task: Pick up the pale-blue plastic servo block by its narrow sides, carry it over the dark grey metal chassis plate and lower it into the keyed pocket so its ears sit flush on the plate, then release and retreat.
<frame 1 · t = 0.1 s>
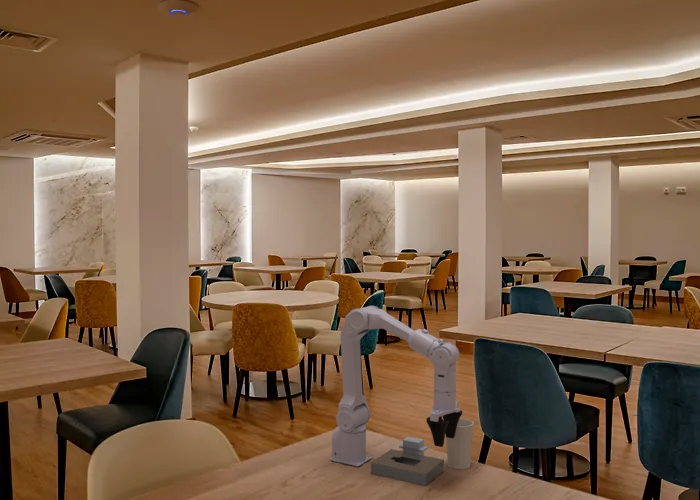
hand: (444, 441, 164), 10 cm above the table, fingers open, 7 cm apart
servo: (413, 458, 179), on the table
cup: (458, 465, 174), on the table
chassis: (407, 472, 169), on the table
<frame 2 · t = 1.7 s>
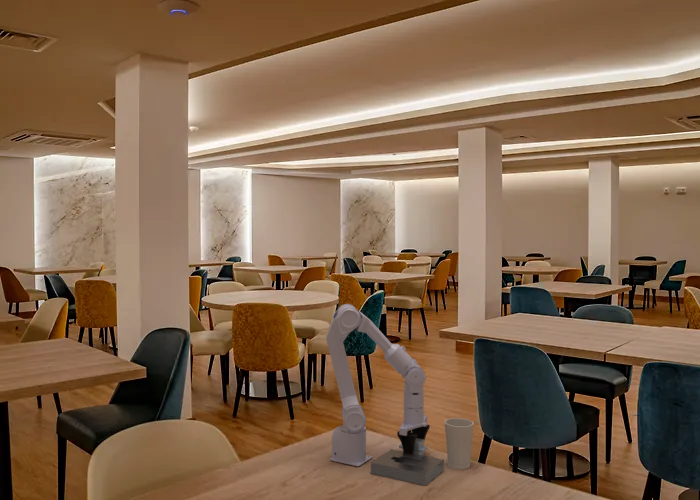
hand: (413, 453, 179), 1 cm above the table, fingers open, 6 cm apart
nothing on the table moved.
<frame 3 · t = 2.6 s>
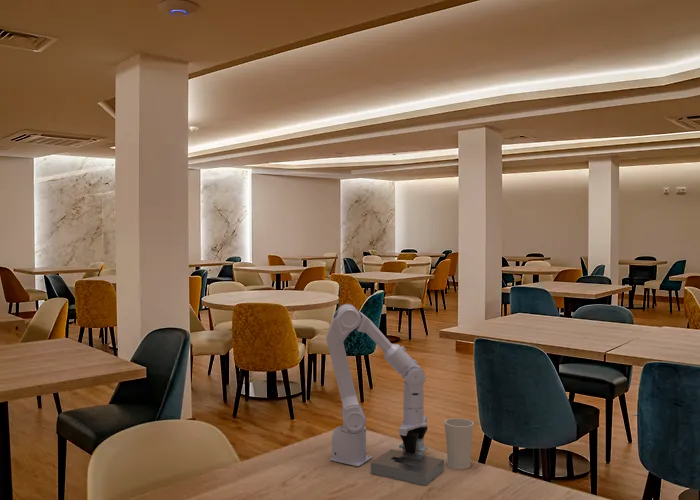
hand: (413, 453, 179), 1 cm above the table, fingers closed on servo, 3 cm apart
servo: (413, 458, 179), on the table, touching gripper
everything else where it was.
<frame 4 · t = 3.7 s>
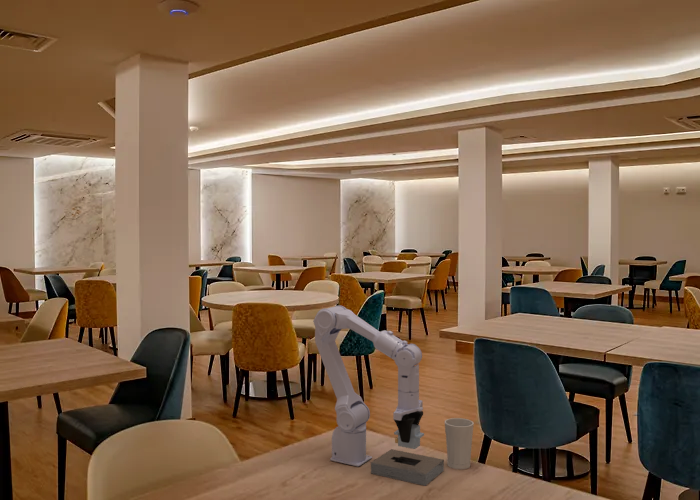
hand: (408, 439, 170), 8 cm above the table, fingers closed on servo, 3 cm apart
servo: (409, 445, 170), point 7 cm above the table, touching gripper
everything else where it was.
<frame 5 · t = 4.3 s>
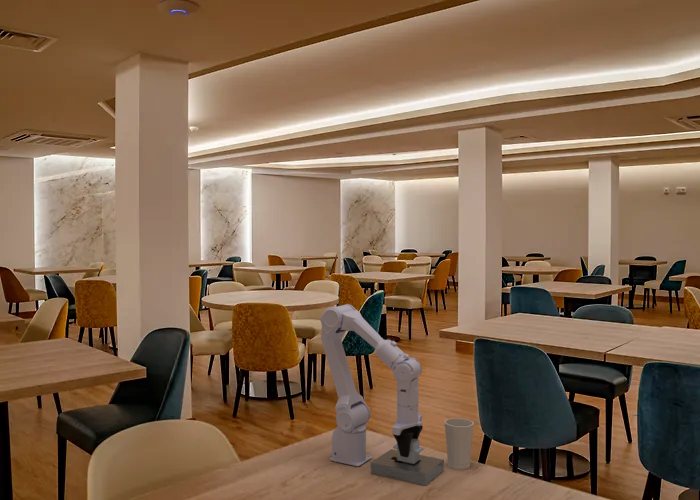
hand: (407, 454, 169), 5 cm above the table, fingers closed on servo, 3 cm apart
servo: (408, 460, 169), point 3 cm above the table, touching gripper
everything else where it was.
when the fingers open (3 cm above the table, at t = 4.9 s): servo drops 2 cm, resting on chassis.
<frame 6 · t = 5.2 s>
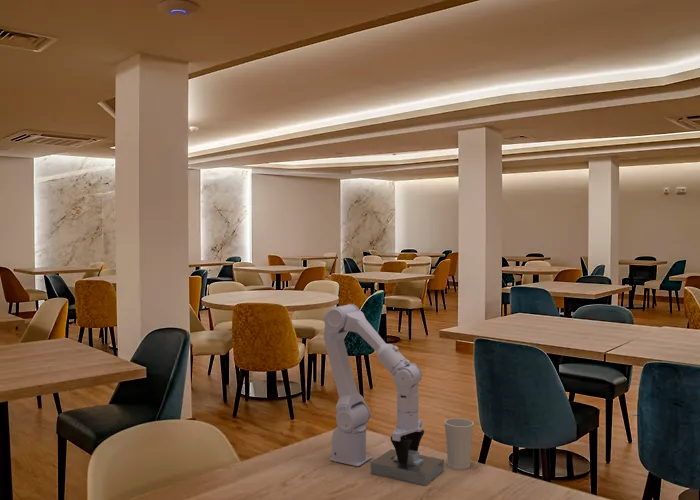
hand: (407, 459, 169), 3 cm above the table, fingers open, 5 cm apart
servo: (408, 472, 169), resting on chassis
everything else where it was.
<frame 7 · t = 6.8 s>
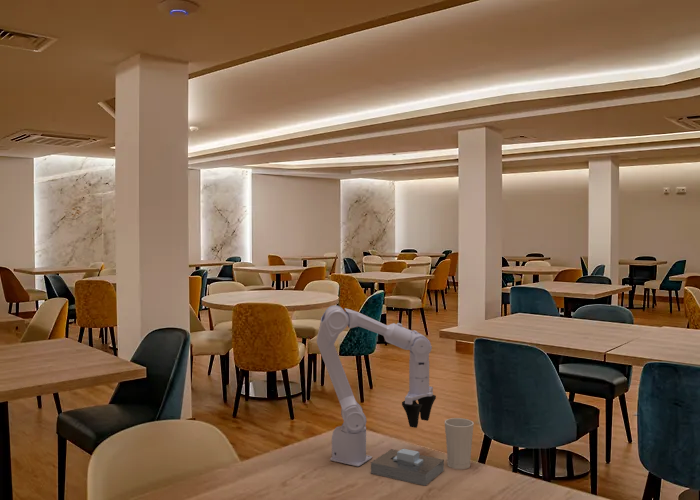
hand: (419, 423, 180), 10 cm above the table, fingers open, 7 cm apart
nothing on the table moved.
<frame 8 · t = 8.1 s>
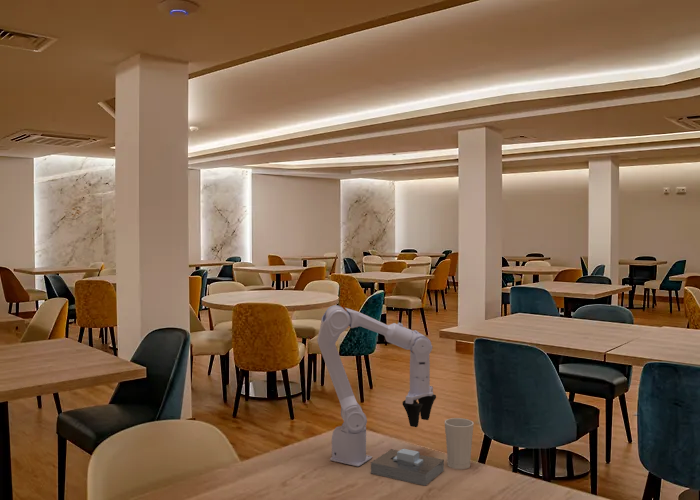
hand: (419, 422, 180), 10 cm above the table, fingers open, 7 cm apart
nothing on the table moved.
at the end: servo 0.2 cm off-centre on the chassis, point 0.0 cm above the chassis's base; servo tilted 0°; the gripper is holding nothing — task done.
